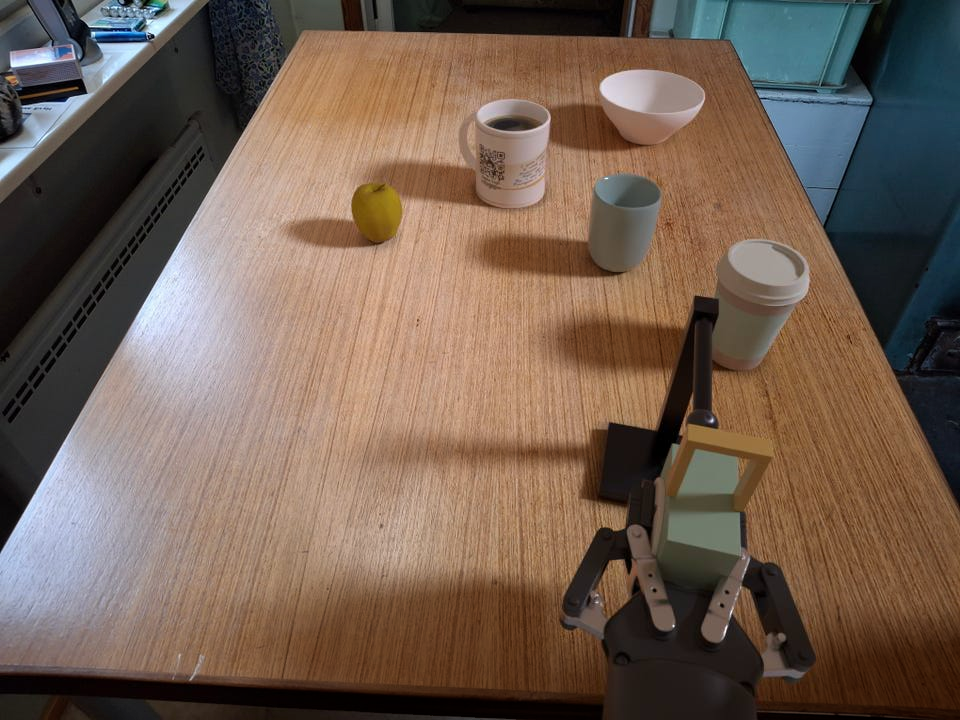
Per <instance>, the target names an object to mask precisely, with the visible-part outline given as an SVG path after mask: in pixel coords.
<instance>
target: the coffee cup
mask: <svg viewBox="0 0 960 720" xmlns="http://www.w3.org/2000/svg"><path fill="white" fill-rule="evenodd" d="M715 270H716V272H715V273H716V277H717V281H716V286H715V292H714V297H713V298H717V299H719V316H718V319H717V322H716V325H715V328H714V331H713V334H712V361H713V362H714V363H716V364H717V365H719V366H721V367H723V368H725V369H728V370H732V371H738V372H741V371H742V372H743V371H744V372H745V371H751V370H753V369H756V368H757V367H758V366H759V365H760V364H761V363H762V361H763V360H764V358H765V356H766V354H767V353H768V352H769V350H770V349H771V346H772V345H773V343H774V342H775V340H776V338H777V337H778V335H779V333H780V332H781V330H782V329H783V327H784V325H785V324H786V322H787V321H788V319H789V317H790V316H791V315H792V313H793V311H794V310H795V307H796V306H797V304H798V303H799V302H800V301H801V300H802V299H804V298H805V297H806V295H807V294H808V291H809V286H810V282H811V278H810V266H809V263H808V262H807V259H806V258H805V257H804V256H803V255H802V254H801V253H800V252H799V251H797V250H796V249H794V248H793V247H791V246H790V245H787V244H785V243H782V242H780V241H775V240H771V239H766V238H748V239H743V240H740V241H737V242H735V243H734V244H732V245H731V246H730V247H729V249H728V250H727V251H726V252H725V253H724V254H723V255H722V257H721V258H720V260H719V261H718V263H717V265H716V269H715Z"/></svg>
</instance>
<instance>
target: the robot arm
mask: <svg viewBox="0 0 960 720" xmlns="http://www.w3.org/2000/svg"><path fill="white" fill-rule="evenodd" d="M653 498H654V481H650V480H645V479H643V482H642V485H641V487H639V486H634V488H633V489H632V491H631V493H630V497H629V500H628V504H626V515H625V525H624V528H622V529H619V530H613V529H612V528H611V527H608V526H603V527H600V528H598V530H597V531H596V533H595V535H594V536H593V539H592V541H591V542H590V544H589V546H588V548H587V550H586V552H585V554H584V556H583V558H582V559H581V562H580V564H579V565H578V568H577V570H576V572H575V574H574V575H573V578H572V579H571V581H570V584H569V586H568V587H567V589H566V591H565V593H564V595H563V598H562V601H561V606H560V607H561V608H560V612H559V618H558V621H559V624H560V626H561V627H562V628H563V629H565V630H567V631H575V630H577V629H580V630H582V631H584V632H586V633H587V634H589V635H591V636H593V637H595V638H597V639H599V640H600V644H601V648H602V650H603V651H602V652H603V653H604V655H605V660H606V664H607V665H606V667H607V668H606V669H607V671H606V681H605V687H604V699H603V708H602V717H601V720H758V714H757V712H758V711H757V699H756V694H757V693H756V691H757V687H758V685H759V683H760V681H761V679H762V678H776V677H778V678H779V677H780V679H781V680H783V682H785V683H787V684H789V685H790V684H791V685H794V684H797V683H799V682H800V681H801V680H802V678H803V677H804V676H805V675H806V674H807V673H808V672H809V671H810V670H811V668H812V667H813V666H814V665H815V664H816V661H817V656H816V653H815V651H814V648H813V645H812V642H811V641H810V638H809V636H808V633H807V631H806V628H805V625H804V622H803V620H802V618H801V615H800V613H799V610H798V607H797V605H796V601H795V600H794V597H793V595H792V592H791V589H790V587H789V584H788V582H787V579H786V577H785V574H784V572H783V571H784V570H782V568H781V566H779V565H778V564H777V563H775V562H771V561H766V562H762V561H760V560H758V559H757V558H755V557H754V556H752V554H751V553H750V551H749V549H748V530H747V529H748V528H747V526H748V525H747V513H746V512H745V511H744V512H741V511H740V541H741V557H740V559H739V560H738V562H737V564H736V566H735V567H734V569H733V571H732V572H731V574H730V576H729V577H727V576H724V575H721V576H720V577H719V579H718V581H717V583H716V585H715V587H714V589H713V591H710V590H705V589H701V588H692V589H686V588H683V587H681V586H679V585H677V584H675V583H673V582H669V581H664V580H663V579H662V576H661V572H660V569H659V565H658V562H657V559H656V558H654V557H653V554H652V550H651V546H650V543H649V539H648V536H649V533H650V530H651V526H652V512H653ZM620 560H621V561H622V563H623V568H624V572H625V577H626V591H627V594H628V599H629V600H627V601H626V602H625V603H624V604H623V605H622V606H621V607H620V608H619V609H618V610H617V611H615V612H614V614H612V615H611V616H610V617H609V618H608V617H607V616H606V615H605V614H604V612H603V609H602V608H603V602H604V600H603V596H602V595H601V593H599V592H598V591H597V588H598V587H599V585H600V582H601V581H602V579H603V576H604V574H605V572H606V569H607V568H608V566H609V564H610V562H611V561H620ZM742 587H743V588H745V589H747V590H749V592H750V596H751V598H752V601H753V605H754V606H755V607H754V608H755V611H756V612H757V616H758V618H759V621H760V625H761V627H762V631H763V633H764V636H765V637H764V639H763V640H762V642H761V645H760V648H761V652H760V651H759V650H758V648H757V647H756V645H755V644H754V642H753V641H752V640H751V638H750V637H749V635H748V634H747V633H746V631H745V630H744V628H743V627H742V625H741V624H740V623H739V621H738V620H737V619H736V617H735V615H734V613H733V612H734V610H735V607H736V603H737V601H738V598H739V595H740V593H741V589H742Z"/></svg>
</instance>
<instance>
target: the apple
mask: <svg viewBox="0 0 960 720" xmlns="http://www.w3.org/2000/svg"><path fill="white" fill-rule="evenodd" d="M350 205H351V206H350V208H351V209H350V210H351V216H352V219H353V221H354V224H355V225H356V227H357V229H358V231H359V232H360V233H361V234H362V236H363V237H364V238H365V239H367V240H368V241H371V242H372V243H376V244H377V243H384V242H388V241H390V240H392V239H393V238H394V237H395V236H396V234H397V233H398V230H399V228H400V224H401V222H402V219H403V204H402V200H401V197H400V195H399V194H398V191H396V189H395V188H393V187H392V186H391V185H389V184H387V183H384V182H368V183H364V184H361V185H359V186H358V187H357V188H356V189H355V190H354V192H353V195H352V197H351V203H350Z"/></svg>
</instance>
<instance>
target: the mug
mask: <svg viewBox="0 0 960 720" xmlns="http://www.w3.org/2000/svg"><path fill="white" fill-rule="evenodd" d="M551 120H552V119H551V113H550V112H549V109H547V108H546V107H545V106H543V105H541V104H539V103H536V102H534V101H530V100H526V99H517V98H509V99H508V98H505V99H498V100H494V101H491V102H487V103H485V104H483V105H481V106H480V107H479V108H478V110H477V111H476V112H475V111H474V112H473V113H471V114H469V115H468V116H467V117H465V118H464V119H463V120H462V122H461V123H460V126H459V129H458V138H457V139H458V146H459V147H458V148H459V152H460V153H461V156H462V158H463V160H464V162H465V163H466V165H467V166H468V167H469V168H470V169H471V170H472V171H474V172H475V193H476V194H477V196H478V197H479V199H480V200H481V201H483V202H485V203H486V204H488V205H490V206H493V207H497V208H500V209H501V208H502V209H521V208H526V207H530V206H532V205H534V204H536V203H538V202H539V201H540V200H542V198H543V197H544V195H545V193H546V184H547V183H546V182H547V171H548V161H549V160H548V159H549V157H548V156H549V146H550V145H549V144H550V132H551ZM472 122H475V157H474V154H473V153H472V151H471V148H470V147H469V142H468V131H469V127H470V125H471V123H472Z"/></svg>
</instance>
